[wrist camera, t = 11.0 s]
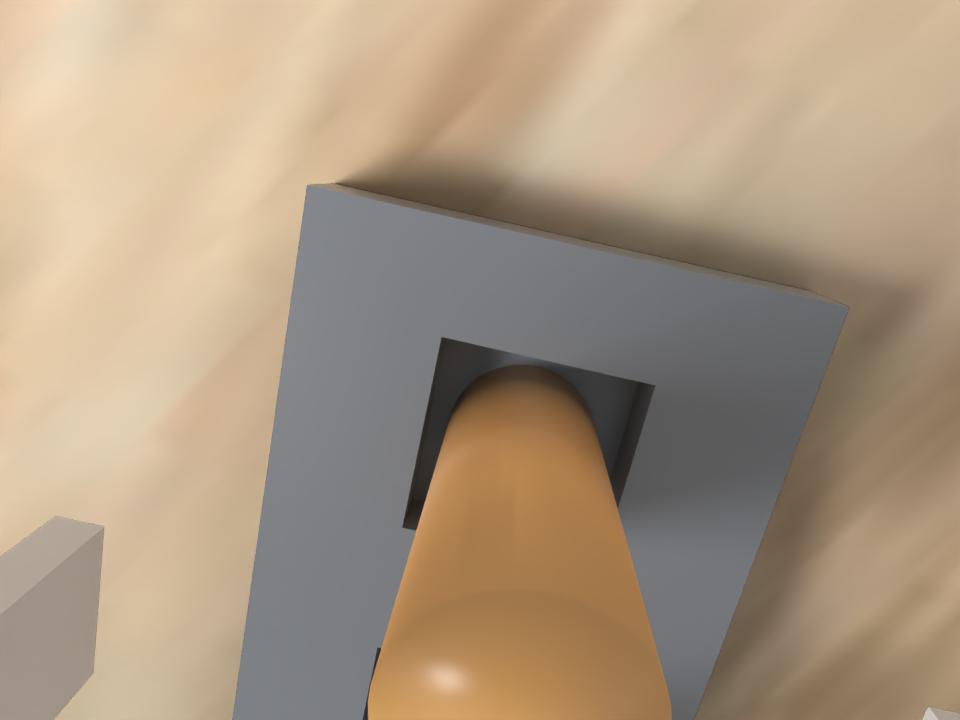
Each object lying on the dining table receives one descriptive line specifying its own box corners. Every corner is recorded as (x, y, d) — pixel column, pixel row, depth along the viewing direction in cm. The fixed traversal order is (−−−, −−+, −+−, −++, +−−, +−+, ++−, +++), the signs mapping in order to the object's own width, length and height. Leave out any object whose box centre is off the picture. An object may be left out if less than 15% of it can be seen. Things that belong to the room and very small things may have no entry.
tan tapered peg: (435, 483, 21) (345, 801, 10) (464, 350, 20) (396, 557, 9) (573, 515, 21) (624, 865, 10) (611, 383, 20) (712, 629, 9)
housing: (607, 857, 25) (616, 926, 23) (244, 774, 25) (216, 834, 23) (810, 291, 19) (849, 307, 17) (333, 183, 19) (307, 184, 17)
